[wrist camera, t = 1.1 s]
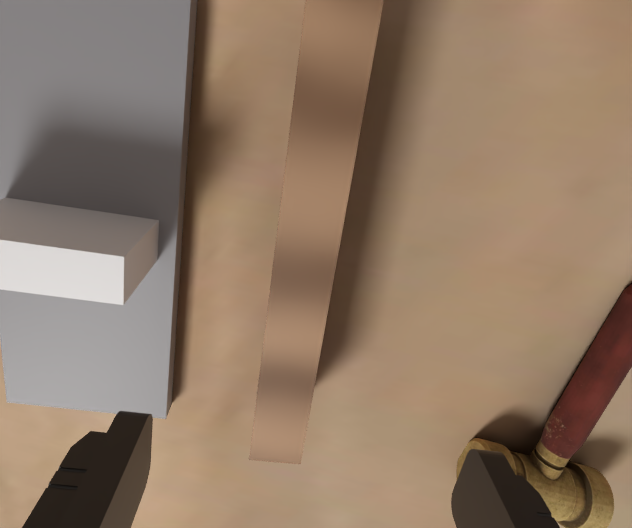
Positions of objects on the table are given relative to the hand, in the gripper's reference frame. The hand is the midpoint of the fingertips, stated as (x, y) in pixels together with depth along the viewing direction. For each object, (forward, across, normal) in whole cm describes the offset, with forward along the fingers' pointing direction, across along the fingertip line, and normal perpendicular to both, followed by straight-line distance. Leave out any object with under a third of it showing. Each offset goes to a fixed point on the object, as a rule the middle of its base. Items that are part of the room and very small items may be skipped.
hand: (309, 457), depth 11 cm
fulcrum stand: (+17, +12, +1) cm, 21 cm away
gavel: (+18, -21, +8) cm, 29 cm away
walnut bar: (+17, 0, 0) cm, 17 cm away
